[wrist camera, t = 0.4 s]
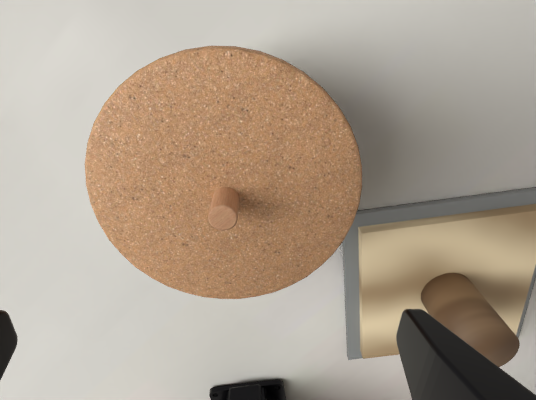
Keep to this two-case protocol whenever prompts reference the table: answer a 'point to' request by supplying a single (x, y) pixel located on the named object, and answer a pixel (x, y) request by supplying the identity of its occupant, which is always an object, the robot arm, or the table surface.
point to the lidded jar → (223, 172)
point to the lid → (449, 277)
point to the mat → (414, 213)
